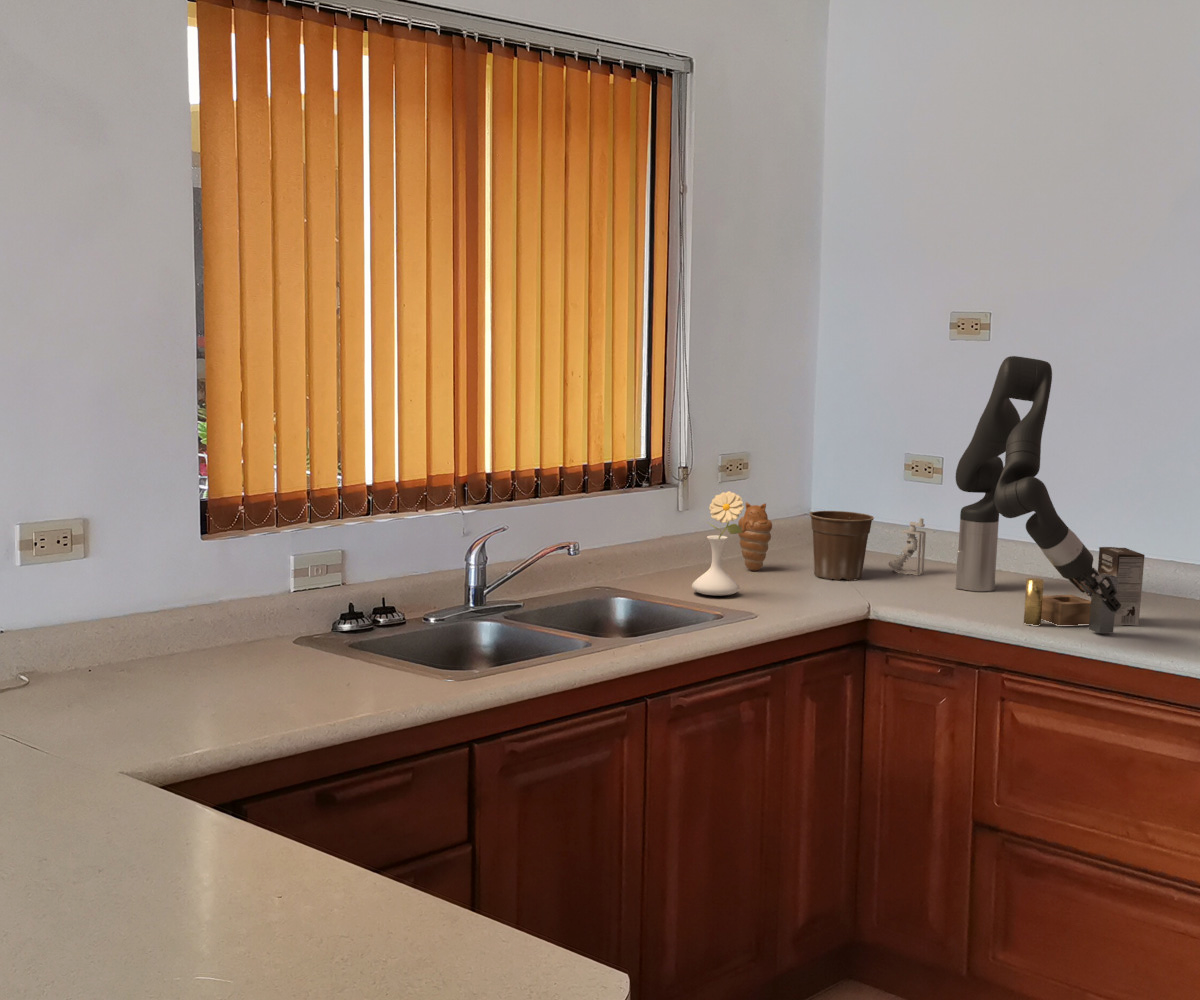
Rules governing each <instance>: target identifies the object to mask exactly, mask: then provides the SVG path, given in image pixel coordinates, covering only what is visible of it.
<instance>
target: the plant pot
mask: <svg viewBox="0 0 1200 1000" xmlns="http://www.w3.org/2000/svg"><path fill="white" fill-rule="evenodd" d="M809 516H810V518H811V519H810V520H811V522H810V524H811V530H812V538H813V539H812V541H813V542H812V543H813V545H812V546H813V574H814V575H815V576H816V577H818V578H821V579H824V578H825V579H824V580H829V579H831V580H832V579H834V580H833V581H840V580H842V579H843V580H845V579H846V580H845V581H855V580H854V579H858V580H860V579H862V577H863V570H864V565H865V557H866V550H867V545H868V538H869V534H870V533H871V528H872V521H874V519H875V517H874V516H873V515H869V514H867V513H861V512H854V511H841V510H839V511H838V510H817V511H816V510H815V511H812V512H809Z"/></svg>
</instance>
